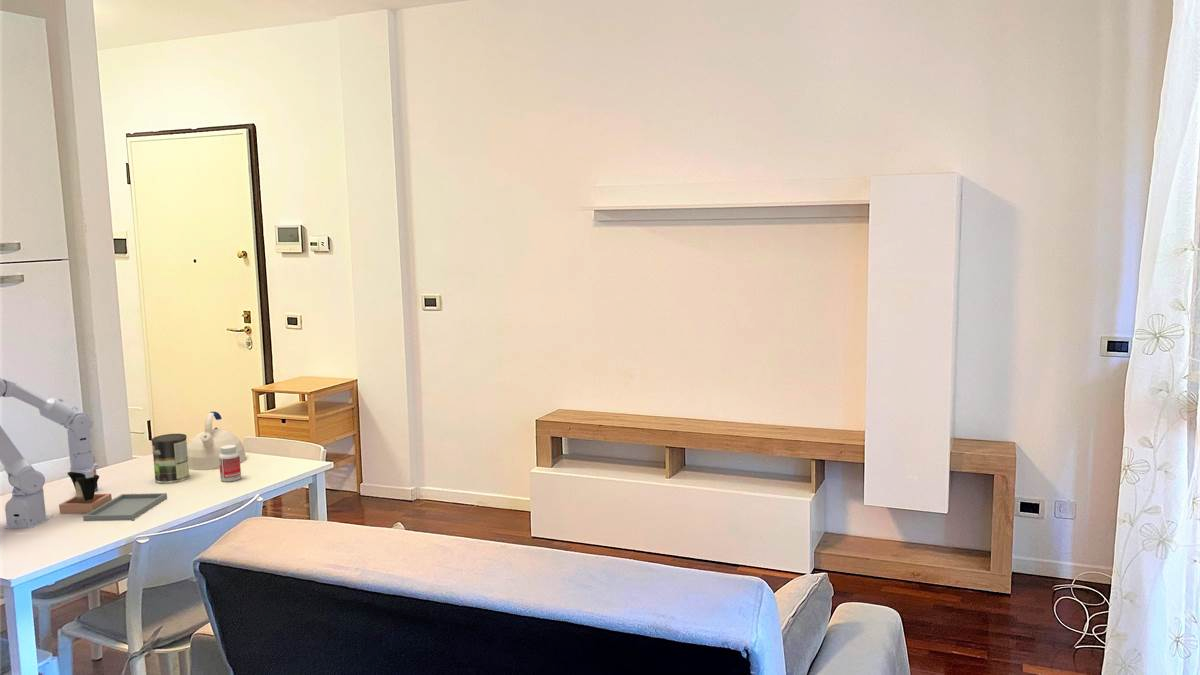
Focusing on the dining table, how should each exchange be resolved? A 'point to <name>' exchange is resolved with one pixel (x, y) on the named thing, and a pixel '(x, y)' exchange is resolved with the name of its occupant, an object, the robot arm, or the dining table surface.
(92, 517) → the slate tray
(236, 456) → the pill bottle
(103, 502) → the square terracotta tray
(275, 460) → the dining table surface
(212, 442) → the kettle
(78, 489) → the birch peg
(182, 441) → the coffee can
